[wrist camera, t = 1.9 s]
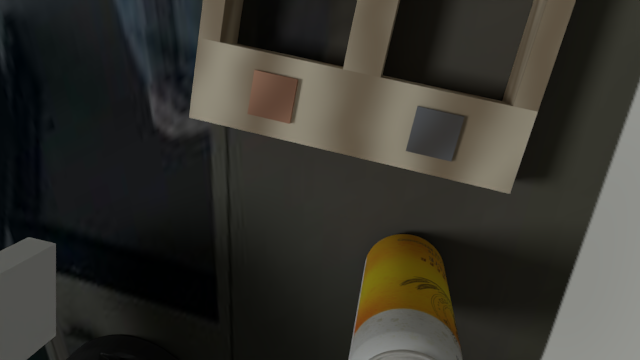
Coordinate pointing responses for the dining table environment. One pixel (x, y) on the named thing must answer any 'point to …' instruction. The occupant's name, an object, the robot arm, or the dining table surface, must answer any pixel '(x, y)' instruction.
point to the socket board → (376, 96)
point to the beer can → (404, 304)
